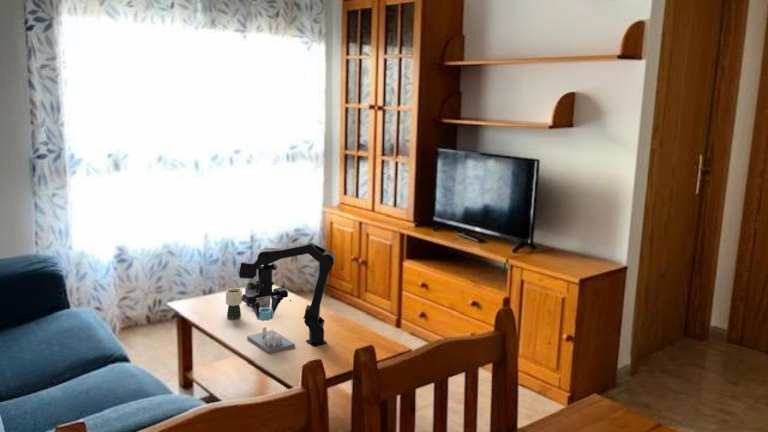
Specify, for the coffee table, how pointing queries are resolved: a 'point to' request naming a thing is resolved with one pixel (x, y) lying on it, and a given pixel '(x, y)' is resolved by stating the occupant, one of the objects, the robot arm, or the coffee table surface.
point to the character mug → (233, 302)
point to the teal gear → (265, 314)
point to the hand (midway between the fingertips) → (264, 315)
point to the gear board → (269, 348)
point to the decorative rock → (264, 301)
